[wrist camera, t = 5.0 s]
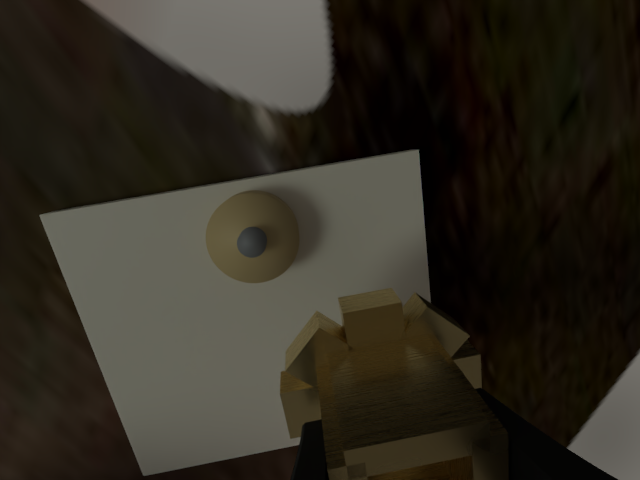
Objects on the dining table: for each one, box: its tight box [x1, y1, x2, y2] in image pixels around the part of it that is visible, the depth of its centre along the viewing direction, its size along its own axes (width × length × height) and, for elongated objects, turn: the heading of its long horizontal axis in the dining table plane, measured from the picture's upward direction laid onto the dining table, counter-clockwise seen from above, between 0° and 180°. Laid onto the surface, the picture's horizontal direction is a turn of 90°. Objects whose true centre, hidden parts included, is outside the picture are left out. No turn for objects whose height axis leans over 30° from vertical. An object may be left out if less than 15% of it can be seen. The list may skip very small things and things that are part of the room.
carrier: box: [39, 150, 431, 476], centre depth 16 cm, size 15×17×4 cm
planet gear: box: [280, 288, 509, 480], centre depth 11 cm, size 7×7×5 cm
